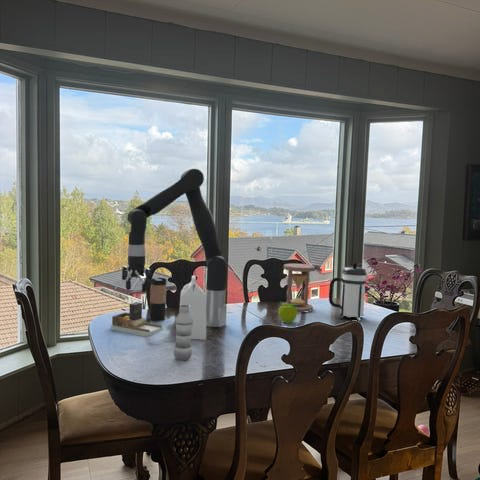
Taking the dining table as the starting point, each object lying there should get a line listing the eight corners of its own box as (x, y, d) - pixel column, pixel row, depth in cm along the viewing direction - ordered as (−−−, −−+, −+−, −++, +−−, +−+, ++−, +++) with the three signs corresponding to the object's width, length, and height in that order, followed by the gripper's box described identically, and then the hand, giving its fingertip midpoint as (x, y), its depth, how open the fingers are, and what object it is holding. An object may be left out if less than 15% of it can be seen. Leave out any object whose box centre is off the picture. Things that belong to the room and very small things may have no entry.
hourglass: (302, 305, 274) (304, 263, 272) (318, 311, 258) (321, 267, 256) (276, 306, 267) (278, 263, 265) (291, 313, 251) (293, 268, 249)
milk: (206, 339, 198) (208, 279, 196) (178, 339, 196) (180, 278, 194) (203, 331, 210) (205, 274, 208) (178, 331, 208) (179, 274, 206)
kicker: (144, 324, 210) (145, 302, 210) (134, 328, 204) (135, 305, 203) (135, 322, 212) (136, 301, 212) (125, 326, 206) (126, 304, 205)
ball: (127, 313, 212) (125, 321, 213) (122, 315, 209) (119, 322, 209) (134, 317, 211) (132, 325, 212) (128, 319, 207) (126, 327, 208)
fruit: (279, 319, 238) (280, 300, 237) (297, 320, 236) (298, 301, 235) (276, 323, 229) (277, 303, 228) (295, 325, 227) (296, 305, 226)
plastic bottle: (174, 356, 175) (175, 304, 173) (192, 356, 176) (193, 304, 174) (173, 362, 169) (174, 308, 167) (191, 362, 169) (193, 308, 168)
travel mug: (162, 321, 223) (163, 280, 221) (147, 320, 224) (148, 279, 223) (167, 318, 230) (168, 278, 229) (153, 316, 232) (154, 277, 230)
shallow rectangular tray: (163, 330, 209) (163, 324, 209) (147, 336, 198) (147, 330, 198) (127, 323, 218) (127, 318, 217) (110, 329, 207) (110, 323, 207)
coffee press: (354, 313, 258) (358, 260, 255) (371, 321, 243) (375, 264, 240) (327, 314, 252) (330, 260, 250) (342, 322, 237) (346, 264, 235)
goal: (134, 322, 214) (134, 314, 214) (122, 326, 206) (122, 317, 206) (124, 320, 216) (124, 312, 216) (112, 324, 208) (112, 316, 208)
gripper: (154, 255, 206) (154, 290, 207) (129, 252, 212) (128, 287, 213) (144, 256, 199) (144, 293, 200) (118, 254, 205) (118, 290, 206)
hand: (136, 290), depth 207 cm, fingers open, 8 cm apart
